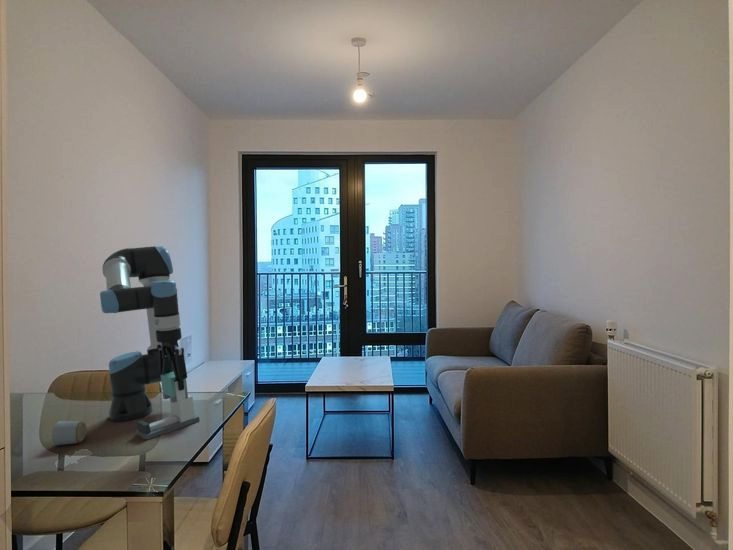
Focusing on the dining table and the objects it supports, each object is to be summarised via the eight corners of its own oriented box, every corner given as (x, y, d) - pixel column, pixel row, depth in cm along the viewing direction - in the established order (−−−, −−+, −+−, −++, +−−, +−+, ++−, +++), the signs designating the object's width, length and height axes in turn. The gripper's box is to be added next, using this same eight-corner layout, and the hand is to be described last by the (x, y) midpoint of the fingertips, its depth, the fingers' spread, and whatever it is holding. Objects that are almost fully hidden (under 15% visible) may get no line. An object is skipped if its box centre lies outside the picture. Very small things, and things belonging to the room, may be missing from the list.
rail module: (173, 402, 156) (170, 378, 155) (163, 398, 160) (160, 374, 160) (188, 397, 159) (185, 374, 159) (178, 394, 164) (175, 370, 163)
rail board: (146, 439, 163) (143, 410, 162) (136, 434, 168) (133, 405, 167) (199, 420, 177) (196, 393, 176) (188, 416, 182) (185, 390, 181)
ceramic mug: (79, 446, 161) (76, 423, 161) (52, 449, 160) (50, 426, 160) (93, 434, 172) (90, 412, 171) (68, 436, 171) (65, 415, 170)
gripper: (143, 327, 162) (150, 395, 164) (171, 333, 148) (179, 407, 150) (165, 323, 167) (172, 388, 169) (194, 328, 154) (201, 399, 156)
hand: (175, 397), depth 160 cm, fingers closed on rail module, 7 cm apart
